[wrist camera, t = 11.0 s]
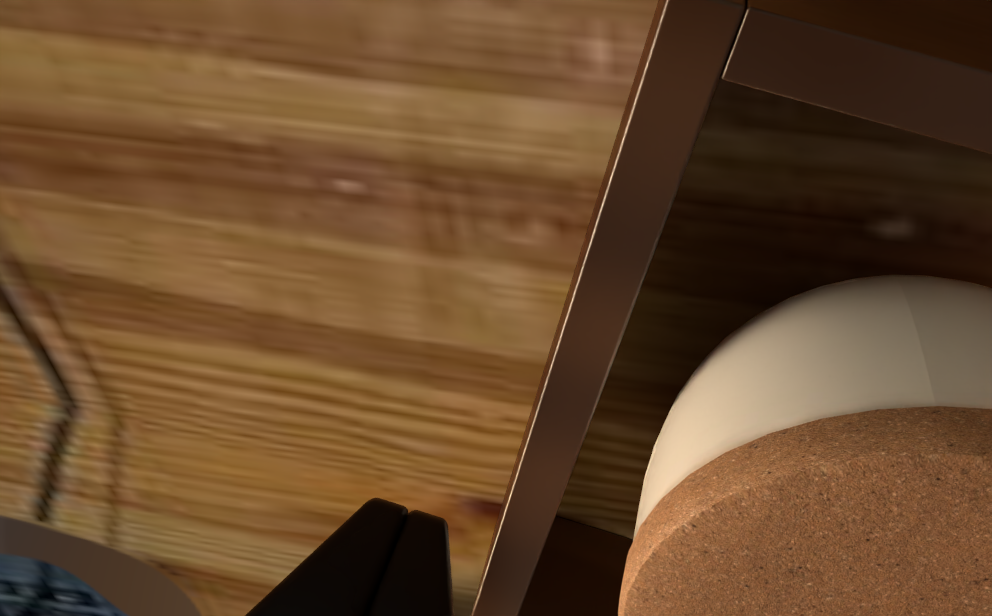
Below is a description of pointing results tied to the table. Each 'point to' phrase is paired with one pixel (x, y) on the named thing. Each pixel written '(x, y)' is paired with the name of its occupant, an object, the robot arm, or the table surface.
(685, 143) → the walnut bay
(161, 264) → the table surface
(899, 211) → the table surface
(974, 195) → the table surface
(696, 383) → the trinket box
